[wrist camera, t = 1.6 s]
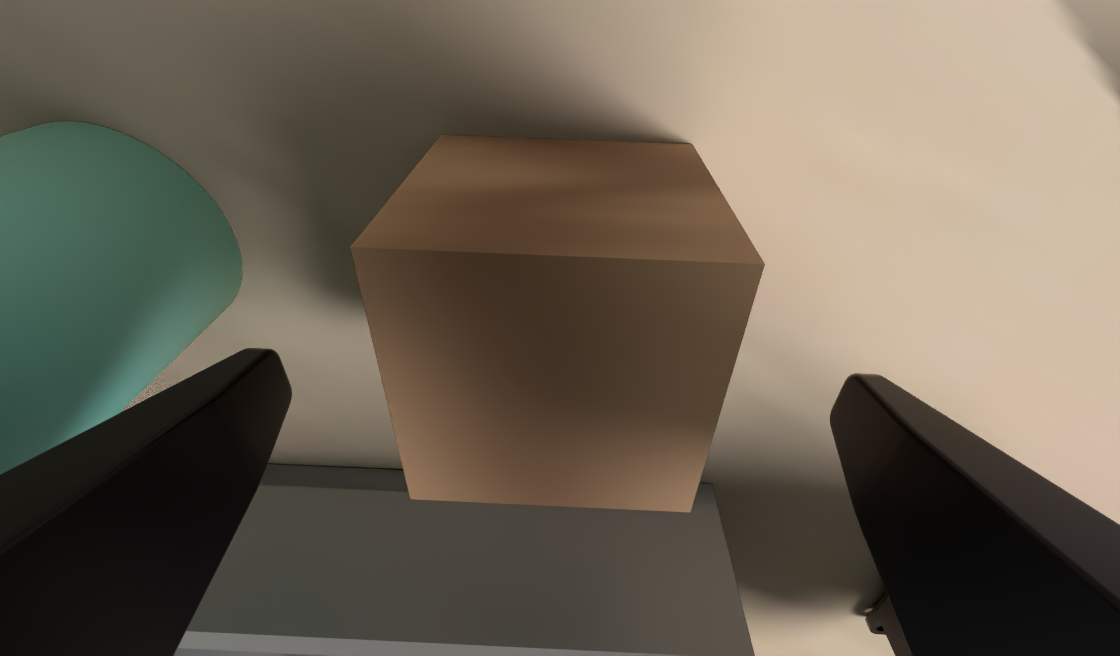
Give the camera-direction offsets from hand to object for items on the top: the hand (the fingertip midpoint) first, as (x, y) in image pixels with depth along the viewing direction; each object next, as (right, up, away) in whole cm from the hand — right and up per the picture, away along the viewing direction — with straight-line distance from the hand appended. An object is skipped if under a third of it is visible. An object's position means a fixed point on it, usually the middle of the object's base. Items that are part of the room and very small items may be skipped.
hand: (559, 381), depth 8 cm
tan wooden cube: (0, +3, +3) cm, 4 cm away
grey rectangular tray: (-4, -9, +12) cm, 16 cm away
